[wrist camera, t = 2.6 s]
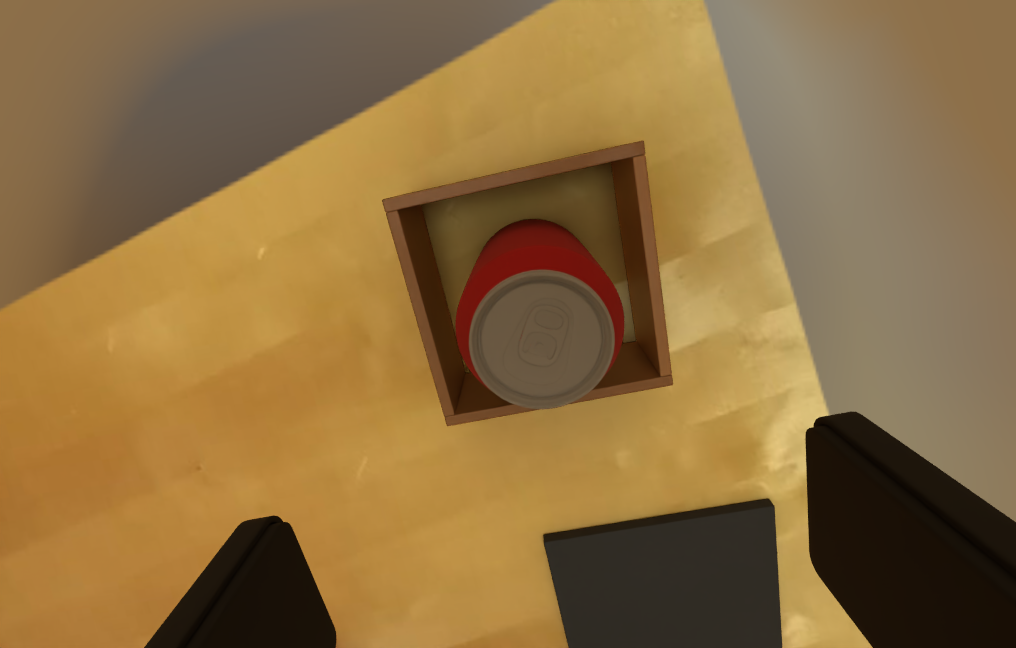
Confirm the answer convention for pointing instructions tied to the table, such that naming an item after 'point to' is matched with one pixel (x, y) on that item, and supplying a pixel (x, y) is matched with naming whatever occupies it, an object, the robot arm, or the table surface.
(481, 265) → the beverage can
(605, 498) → the table surface
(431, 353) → the open box
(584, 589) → the mat
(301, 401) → the table surface
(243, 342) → the table surface
